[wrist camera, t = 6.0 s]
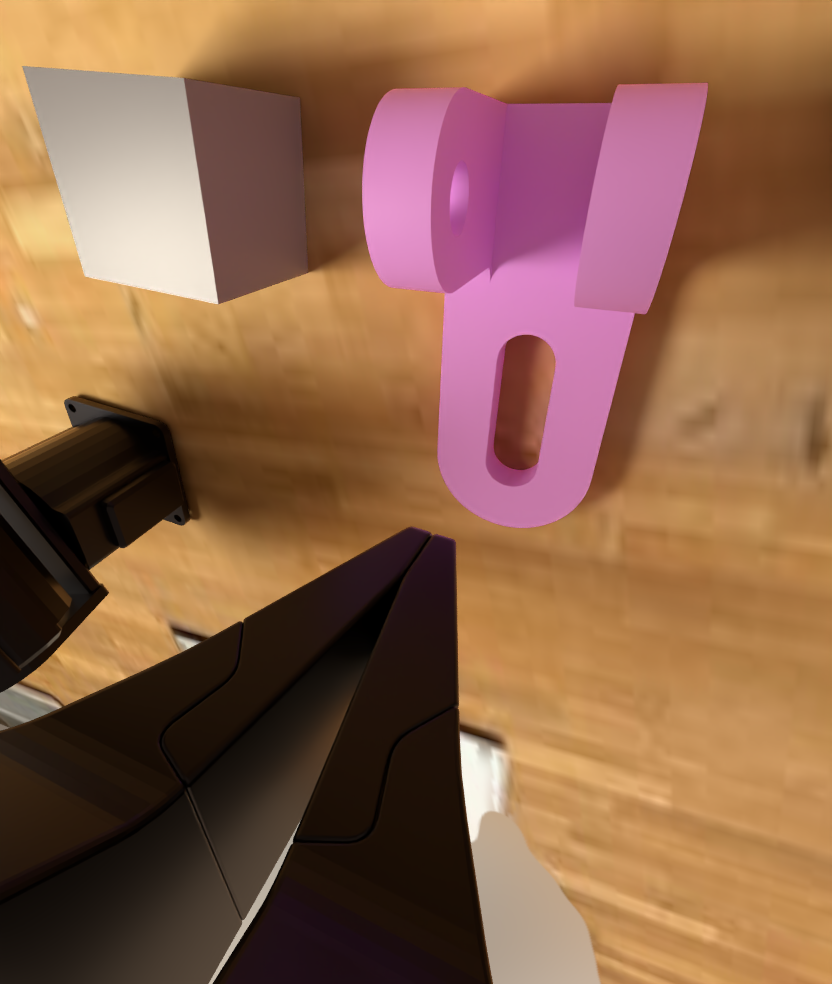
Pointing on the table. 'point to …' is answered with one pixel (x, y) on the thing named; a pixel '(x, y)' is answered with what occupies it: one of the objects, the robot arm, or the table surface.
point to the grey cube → (176, 180)
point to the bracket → (528, 259)
